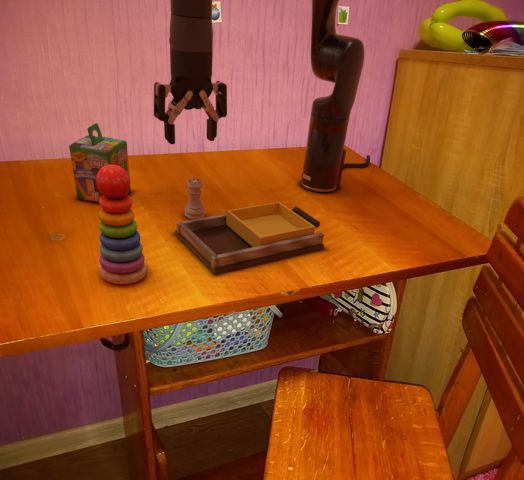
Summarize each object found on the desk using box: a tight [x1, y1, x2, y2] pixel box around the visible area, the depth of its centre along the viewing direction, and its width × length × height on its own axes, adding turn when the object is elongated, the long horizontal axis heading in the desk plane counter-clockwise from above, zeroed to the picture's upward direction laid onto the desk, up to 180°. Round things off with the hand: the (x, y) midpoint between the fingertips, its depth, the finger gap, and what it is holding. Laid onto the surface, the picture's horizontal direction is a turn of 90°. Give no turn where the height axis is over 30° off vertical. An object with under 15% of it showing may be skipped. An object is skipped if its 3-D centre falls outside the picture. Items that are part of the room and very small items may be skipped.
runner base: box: [175, 213, 325, 275], centre depth 98 cm, size 25×17×3 cm
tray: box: [226, 201, 321, 247], centre depth 100 cm, size 16×13×3 cm
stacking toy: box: [96, 165, 148, 285], centre depth 80 cm, size 8×8×19 cm
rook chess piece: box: [184, 177, 206, 220], centre depth 104 cm, size 4×4×8 cm
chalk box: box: [68, 122, 132, 203], centre depth 106 cm, size 9×9×15 cm
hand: (191, 141), depth 96 cm, fingers open, 8 cm apart
